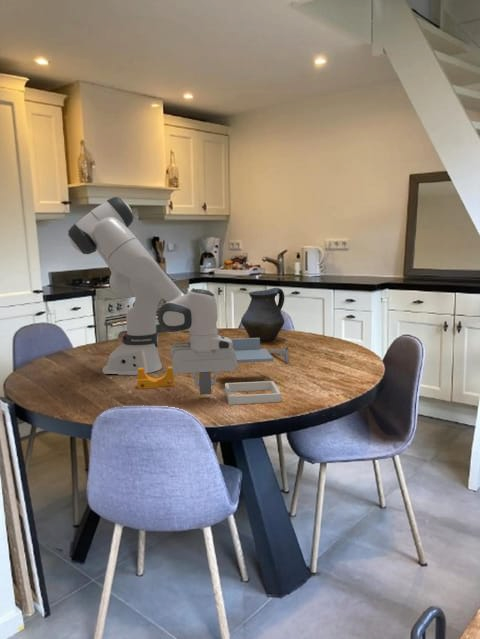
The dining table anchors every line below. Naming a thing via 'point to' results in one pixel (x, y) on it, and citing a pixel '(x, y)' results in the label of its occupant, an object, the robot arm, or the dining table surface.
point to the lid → (250, 350)
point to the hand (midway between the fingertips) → (205, 385)
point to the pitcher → (264, 315)
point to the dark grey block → (205, 383)
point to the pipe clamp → (155, 379)
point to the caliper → (282, 353)
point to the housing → (252, 398)
